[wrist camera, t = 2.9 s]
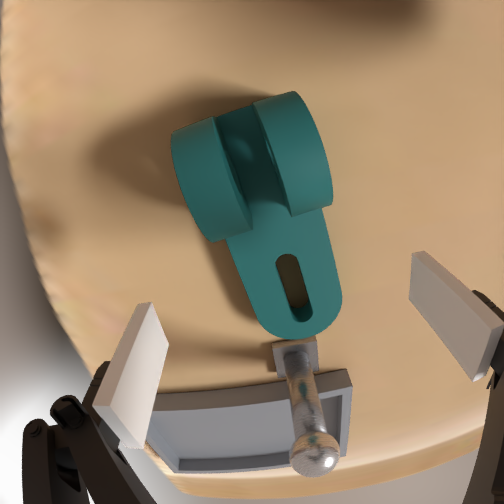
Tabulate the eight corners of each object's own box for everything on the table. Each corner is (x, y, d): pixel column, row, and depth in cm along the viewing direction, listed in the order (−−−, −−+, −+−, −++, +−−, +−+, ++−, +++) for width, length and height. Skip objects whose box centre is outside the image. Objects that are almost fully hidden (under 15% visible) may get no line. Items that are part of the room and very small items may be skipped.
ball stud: (271, 343, 27) (285, 469, 15) (315, 335, 27) (349, 457, 15) (277, 372, 29) (291, 488, 17) (317, 365, 29) (345, 478, 17)
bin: (128, 394, 30) (123, 410, 28) (346, 368, 29) (352, 386, 27) (176, 459, 37) (174, 473, 34) (342, 441, 35) (345, 455, 33)
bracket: (189, 128, 20) (158, 133, 13) (282, 97, 19) (303, 83, 12) (268, 331, 27) (275, 400, 20) (341, 309, 26) (368, 372, 19)
